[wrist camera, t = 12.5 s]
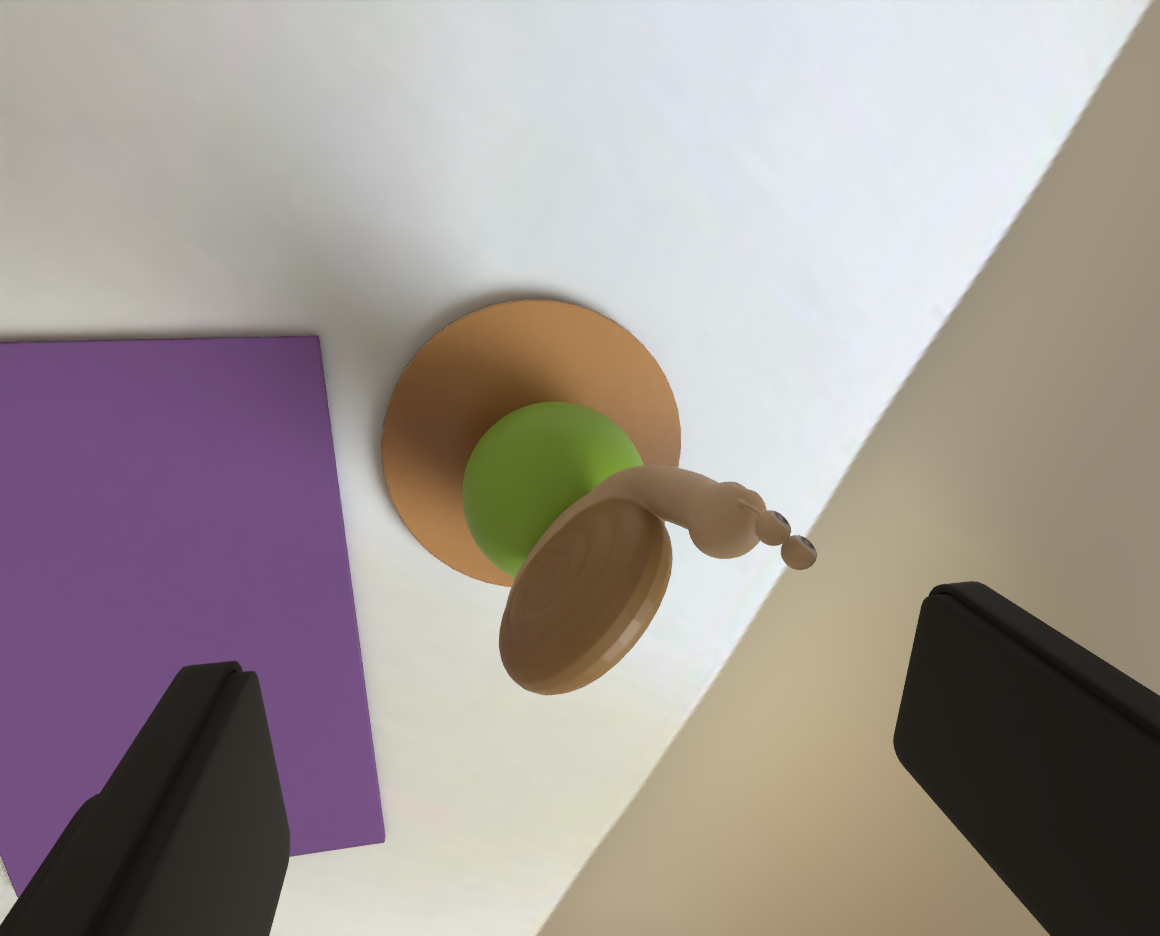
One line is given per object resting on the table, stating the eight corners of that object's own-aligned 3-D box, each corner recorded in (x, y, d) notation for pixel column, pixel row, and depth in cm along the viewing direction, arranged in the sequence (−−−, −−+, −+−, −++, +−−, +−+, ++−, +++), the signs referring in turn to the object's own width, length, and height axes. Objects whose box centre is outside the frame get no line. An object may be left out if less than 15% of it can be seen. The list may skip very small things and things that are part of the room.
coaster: (366, 300, 19) (364, 302, 18) (684, 297, 20) (689, 298, 20) (398, 593, 22) (396, 600, 22) (670, 569, 24) (674, 576, 23)
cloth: (-192, 345, 17) (-203, 347, 16) (318, 335, 19) (316, 336, 19) (22, 890, 23) (17, 898, 23) (385, 836, 25) (384, 842, 25)
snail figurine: (674, 434, 21) (907, 628, 10) (550, 567, 22) (639, 883, 11) (559, 326, 20) (687, 418, 8) (427, 475, 20) (384, 742, 9)
